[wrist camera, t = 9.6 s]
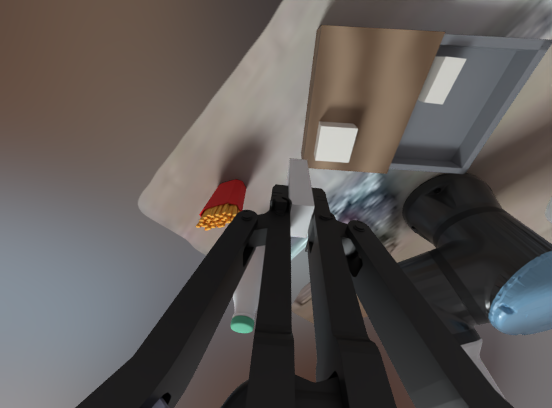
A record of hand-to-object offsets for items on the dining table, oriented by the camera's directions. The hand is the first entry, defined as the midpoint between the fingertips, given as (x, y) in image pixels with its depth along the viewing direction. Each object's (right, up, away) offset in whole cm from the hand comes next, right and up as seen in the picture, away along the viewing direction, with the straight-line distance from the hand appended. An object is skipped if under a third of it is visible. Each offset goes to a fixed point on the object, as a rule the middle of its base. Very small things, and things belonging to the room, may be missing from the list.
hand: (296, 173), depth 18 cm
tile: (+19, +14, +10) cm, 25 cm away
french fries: (-11, +1, +27) cm, 29 cm away
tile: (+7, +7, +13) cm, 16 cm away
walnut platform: (+10, +14, +15) cm, 23 cm away
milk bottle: (-7, -16, +38) cm, 42 cm away
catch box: (+24, +13, +15) cm, 31 cm away
